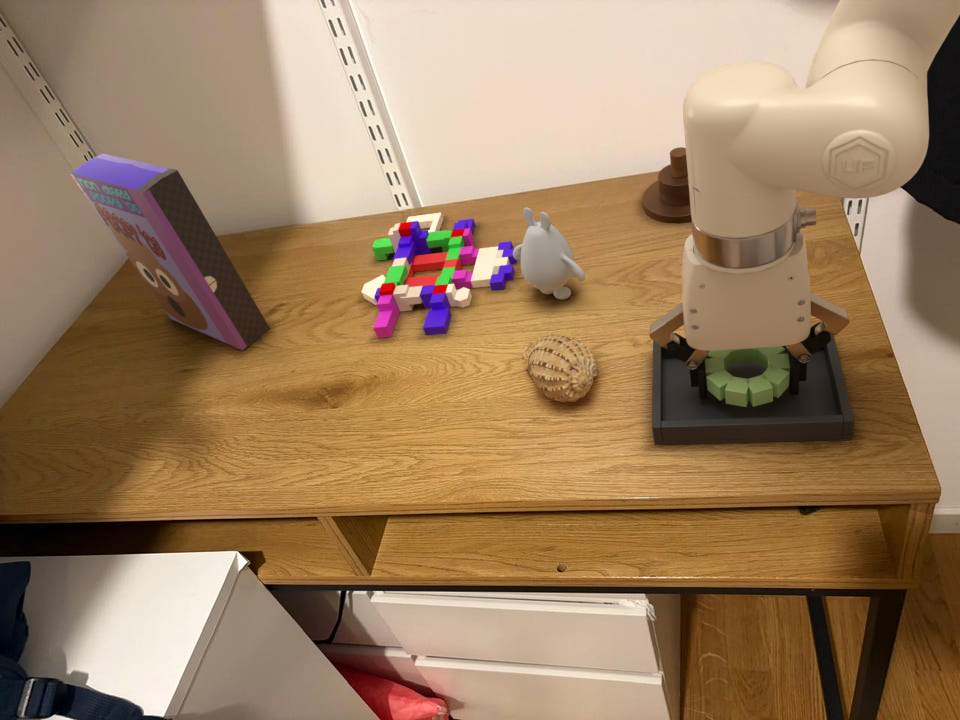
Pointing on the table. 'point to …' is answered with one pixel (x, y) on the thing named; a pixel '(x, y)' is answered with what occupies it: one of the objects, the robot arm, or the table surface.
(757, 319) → the robot arm
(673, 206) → the stand
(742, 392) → the ring
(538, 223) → the toy figure
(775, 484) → the table surface
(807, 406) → the tray
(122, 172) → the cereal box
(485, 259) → the building block set
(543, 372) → the seashell
